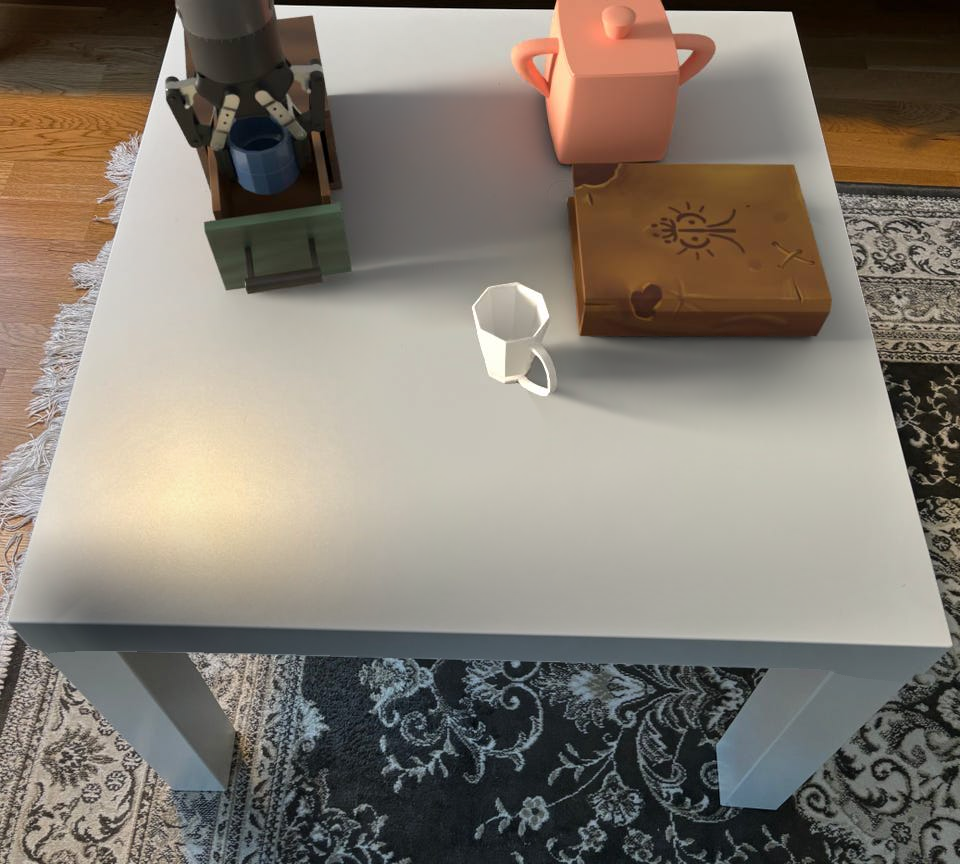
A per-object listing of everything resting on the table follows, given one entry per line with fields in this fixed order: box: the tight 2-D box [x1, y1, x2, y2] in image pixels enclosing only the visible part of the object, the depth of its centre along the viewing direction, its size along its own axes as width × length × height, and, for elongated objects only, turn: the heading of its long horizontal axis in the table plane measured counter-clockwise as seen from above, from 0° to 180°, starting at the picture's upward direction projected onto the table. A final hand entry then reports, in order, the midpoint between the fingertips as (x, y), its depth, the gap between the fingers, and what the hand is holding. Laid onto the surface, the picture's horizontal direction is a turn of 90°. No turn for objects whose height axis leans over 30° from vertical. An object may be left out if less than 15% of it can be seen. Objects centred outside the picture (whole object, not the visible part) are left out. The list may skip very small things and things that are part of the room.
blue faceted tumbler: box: [226, 115, 300, 195], centre depth 84 cm, size 6×6×6 cm
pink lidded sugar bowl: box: [510, 0, 717, 165], centre depth 98 cm, size 20×22×14 cm
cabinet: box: [183, 14, 344, 193], centre depth 96 cm, size 16×14×10 cm
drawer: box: [203, 131, 353, 295], centre depth 88 cm, size 20×13×8 cm, turn 12°
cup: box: [471, 281, 558, 397], centre depth 81 cm, size 7×10×8 cm
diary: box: [566, 162, 833, 337], centre depth 89 cm, size 23×19×6 cm
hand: (266, 168), depth 86 cm, fingers closed on blue faceted tumbler, 6 cm apart
